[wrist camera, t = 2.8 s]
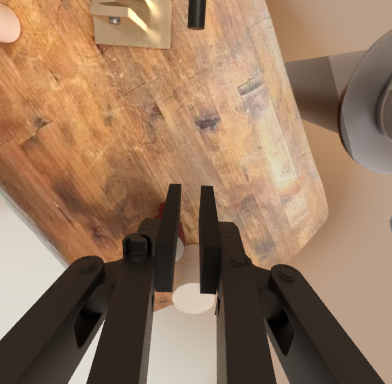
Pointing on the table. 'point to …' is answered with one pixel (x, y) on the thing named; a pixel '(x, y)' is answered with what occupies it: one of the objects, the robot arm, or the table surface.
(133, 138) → the table surface
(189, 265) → the cup
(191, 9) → the lever
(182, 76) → the table surface
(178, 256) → the mug
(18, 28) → the drinking glass
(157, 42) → the power switch
